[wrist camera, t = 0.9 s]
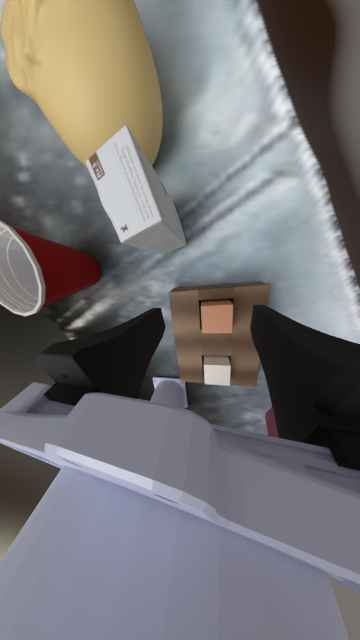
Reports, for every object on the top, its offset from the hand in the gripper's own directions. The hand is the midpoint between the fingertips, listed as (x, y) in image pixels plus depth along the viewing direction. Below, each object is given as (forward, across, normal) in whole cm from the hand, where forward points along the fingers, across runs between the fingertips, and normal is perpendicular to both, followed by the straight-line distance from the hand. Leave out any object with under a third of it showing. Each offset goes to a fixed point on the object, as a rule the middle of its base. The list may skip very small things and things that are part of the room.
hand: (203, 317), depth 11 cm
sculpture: (+17, +10, -18) cm, 27 cm away
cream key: (+9, -1, +15) cm, 18 cm away
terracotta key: (+11, -1, +5) cm, 12 cm away
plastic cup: (+13, +23, -3) cm, 27 cm away
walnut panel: (+12, -1, +11) cm, 16 cm away
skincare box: (+15, +6, -7) cm, 18 cm away
